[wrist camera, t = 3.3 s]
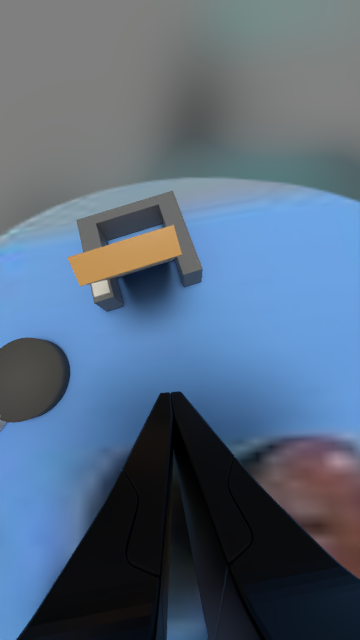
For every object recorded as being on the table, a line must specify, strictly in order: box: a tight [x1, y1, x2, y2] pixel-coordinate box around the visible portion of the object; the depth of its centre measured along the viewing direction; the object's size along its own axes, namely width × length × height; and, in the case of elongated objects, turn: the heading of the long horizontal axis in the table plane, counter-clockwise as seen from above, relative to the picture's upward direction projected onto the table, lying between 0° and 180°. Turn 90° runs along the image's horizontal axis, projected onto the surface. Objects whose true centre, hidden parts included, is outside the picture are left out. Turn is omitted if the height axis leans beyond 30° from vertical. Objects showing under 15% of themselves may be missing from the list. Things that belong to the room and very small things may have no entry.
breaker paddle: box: [68, 225, 182, 286], centre depth 16 cm, size 2×6×11 cm, turn 108°
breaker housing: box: [77, 191, 202, 311], centre depth 22 cm, size 10×11×3 cm
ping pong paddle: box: [0, 338, 70, 431], centre depth 20 cm, size 10×8×2 cm
